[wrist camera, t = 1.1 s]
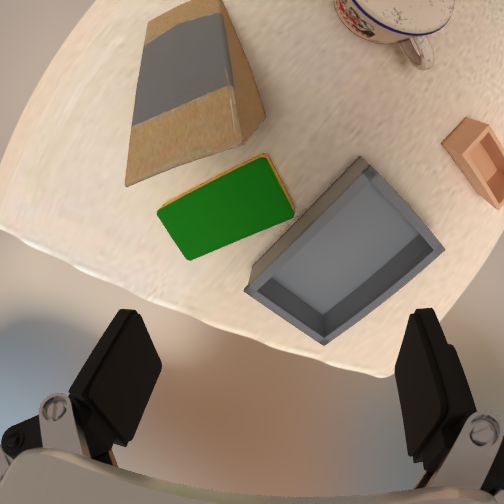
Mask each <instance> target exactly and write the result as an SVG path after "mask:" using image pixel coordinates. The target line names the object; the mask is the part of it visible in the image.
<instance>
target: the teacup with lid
mask: <svg viewBox="0 0 504 504" xmlns="http://www.w3.org/2000/svg"><path fill="white" fill-rule="evenodd" d="M334 4H335V8H336V11H337V13H338V15H339V17H340V19H341V20H342V22H343V23H344V24H345V25H346V26H347V27H348V28H349V29H350V30H351V31H352V32H354V33H355V34H357V35H358V36H360V37H362V38H364V39H366V40H369V41H372V42H376V43H384V44H387V43H395V42H398V44H399V46H400V48H401V50H402V52H403V53H404V55H405V57H406V58H407V59H408V61H409V62H410V63H411V64H412V65H413V66H414V67H416V68H417V69H419V70H427V69H430V68H432V67H433V65H434V53H433V50H432V47H431V44H430V42H429V40H428V37H427V35H428V34H431V33H434V32H436V31H438V30H440V29H441V28H442V27H443V26H444V25H445V24H446V23H447V22H448V21H449V19H450V17H451V14H452V12H453V8H454V0H334ZM410 37H413V38H414V41H415V43H416V45H417V47H418V50H419V53H420V56H419V55H418V54H417V52H416V51H415V49H414V47H413V45H412V43H411V41H410V39H409V38H410Z"/></svg>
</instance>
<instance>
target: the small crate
mask: <svg viewBox="0 0 504 504" xmlns="http://www.w3.org/2000/svg"><path fill="white" fill-rule="evenodd" d="M441 144H442V145H443V146H444V147H445V149H446V150H447V151H448V153H449V154H450V155H451V157H452V158H453V159H454V161H455V162H456V163H457V165H458V166H459V167H460V169H461V170H462V172H463V173H464V174H465V176H466V177H467V179H468V180H469V182H470V183H471V185H472V186H473V188H474V189H475V191H476V192H477V193H478V194H479V195H480V196H481V197H483V198H484V199H485V200H486V201H487V202H489V203H490V204H491V205H492V206H493V207H495V208H496V209H497V210H499V209H500V208H501V207H502V206H503V205H504V148H503V147H502V145H501V143H500V142H499V140H498V138H497V137H496V135H495V133H494V132H493V130H492V129H491V127H490V126H489V125H488V124H485V123H482V122H479V121H476V120H473V119H470V118H467V117H465V118H464V120H463V121H462V122H461V123H460V124H459V125H458V126H457V127H456V128H455V129H454V130H453V131H452V132H451V133H450V135H449V136H448V137H447V138H446V139H445V140H444V141H443V142H442V143H441Z"/></svg>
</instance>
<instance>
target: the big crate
mask: <svg viewBox="0 0 504 504" xmlns="http://www.w3.org/2000/svg"><path fill="white" fill-rule="evenodd" d="M444 251H445V248H444V247H443V246H442V244H441V243H440V242H439V241H438V240H437V238H436V237H435V236H434V235H433V233H432V232H431V231H430V230H429V229H428V227H427V226H426V225H425V224H424V223H423V222H422V220H421V219H420V218H419V217H418V216H417V215H416V213H415V212H414V211H413V210H412V209H411V208H410V207H409V206H408V204H407V203H406V202H405V201H404V200H403V199H402V198H401V197H400V196H399V195H398V194H397V192H396V191H395V190H394V189H393V188H392V187H391V186H390V185H389V184H388V183H387V182H386V181H385V180H384V179H383V178H382V177H381V176H380V175H379V174H378V173H377V172H376V171H375V170H374V169H373V168H372V167H371V166H370V165H369V164H368V163H367V162H366V161H365V160H364V159H363V158H362V157H361V156H360V157H359V158H358V159H357V160H356V161H355V162H354V163H353V164H352V165H351V166H350V167H349V168H348V169H347V170H346V171H345V172H344V173H343V174H342V175H341V176H340V177H339V178H338V179H337V180H336V181H335V182H334V183H333V184H332V185H331V187H330V188H329V189H328V190H327V191H326V192H325V193H324V194H323V195H322V196H321V197H320V198H319V199H318V200H317V201H316V202H315V203H314V204H313V205H312V206H311V207H310V208H309V209H308V210H307V211H306V212H305V213H304V214H303V215H302V216H301V217H300V218H299V219H298V220H297V221H296V222H295V223H294V224H293V225H292V226H291V227H290V228H289V229H288V230H287V231H286V232H285V233H284V234H283V236H282V237H281V238H280V239H279V240H278V241H277V242H276V243H275V244H274V245H273V246H272V247H271V248H270V249H269V250H268V251H267V252H266V253H265V254H264V255H263V256H262V257H261V258H260V259H259V260H258V261H257V262H256V263H255V264H254V265H253V266H252V270H251V274H250V278H249V282H248V285H247V286H246V287H245V288H244V292H245V293H247V294H248V295H250V296H251V297H253V298H254V299H255V300H257V301H258V302H260V303H261V304H263V305H264V306H266V307H267V308H268V309H270V310H271V311H273V312H274V313H276V314H277V315H279V316H280V317H282V318H283V319H285V320H286V321H287V322H289V323H290V324H292V325H293V326H295V327H296V328H298V329H299V330H301V331H302V332H304V333H305V334H307V335H308V336H310V337H311V338H313V339H314V340H316V341H317V342H319V343H320V344H322V345H323V346H325V345H326V344H327V343H329V342H330V341H332V340H333V339H335V338H336V337H337V336H339V335H340V334H342V333H343V332H344V331H346V330H347V329H349V328H350V327H351V326H353V325H354V324H355V323H357V322H358V321H360V320H361V319H362V318H364V317H365V316H366V315H368V314H369V313H370V312H371V311H373V310H374V309H375V308H377V307H378V306H379V305H381V304H382V303H383V302H384V301H386V300H387V299H388V298H389V297H391V296H392V295H393V294H394V293H396V292H397V291H398V290H399V289H401V288H402V287H403V286H404V285H405V284H407V283H408V282H409V281H410V280H411V279H413V278H414V277H415V276H416V275H417V274H419V273H420V272H421V271H422V270H423V269H424V268H426V267H427V266H428V265H429V264H430V263H431V262H432V261H433V260H435V259H436V258H437V257H438V256H439V255H440V254H441V253H442V252H444Z"/></svg>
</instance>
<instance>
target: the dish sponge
mask: <svg viewBox="0 0 504 504" xmlns="http://www.w3.org/2000/svg"><path fill="white" fill-rule="evenodd" d="M294 208H295V207H294V205H293V203H292V201H291V199H290V197H289V195H288V193H287V191H286V189H285V187H284V185H283V183H282V182H281V180H280V178H279V176H278V174H277V172H276V170H275V168H274V166H273V164H272V162H271V160H270V158H269V157H268V155H266V154H261V155H259V156H257V157H255V158H253V159H251V160H249V161H246V162H244V163H242V164H240V165H238V166H236V167H234V168H232V169H230V170H228V171H226V172H224V173H222V174H220V175H218V176H216V177H214V178H212V179H210V180H209V181H207V182H205V183H203V184H201V185H199V186H197V187H195V188H193V189H191V190H189V191H188V192H186V193H184V194H182V195H180V196H178V197H177V198H175V199H173V200H171V201H169V202H167V203H166V204H164V205H163V206H162V207H161V208H160V209H159V210H158V211H157V216H158V217H159V219H160V220H161V222H162V223H163V225H164V226H165V228H166V229H167V231H168V233H169V234H170V236H171V237H172V239H173V240H174V242H175V243H176V245H177V246H178V248H179V249H180V251H181V252H182V254H183V255H184V257H185V258H186V259H187V260H190V261H191V260H193V259H195V258H198V257H200V256H203V255H205V254H207V253H210V252H212V251H214V250H217V249H219V248H222V247H224V246H226V245H229V244H231V243H233V242H236V241H238V240H241V239H243V238H245V237H248V236H250V235H253V234H255V233H258V232H260V231H262V230H265V229H267V228H270V227H272V226H274V225H277V224H279V223H282V222H284V221H287V220H289V219H291V218H293V216H294Z"/></svg>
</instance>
